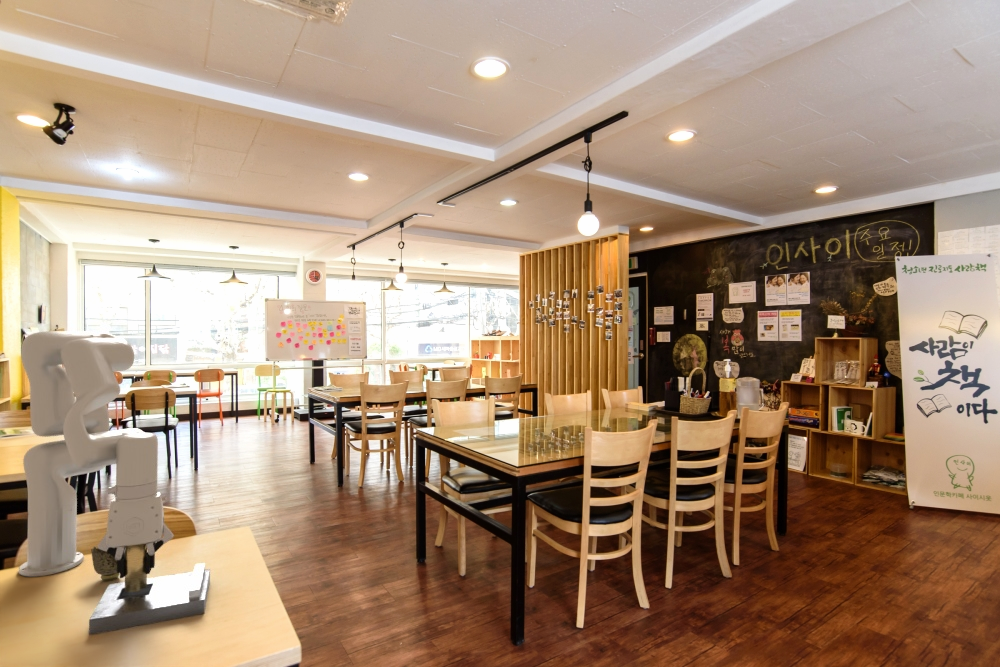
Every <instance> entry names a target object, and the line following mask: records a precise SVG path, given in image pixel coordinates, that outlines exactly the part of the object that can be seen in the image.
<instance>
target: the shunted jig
mask: <svg viewBox="0 0 1000 667" xmlns="http://www.w3.org/2000/svg"><path fill="white" fill-rule="evenodd" d="M210 582H211V568H208V569H207V568H206V562H203V563H196V564H195V565H194V569H193V571H189V572H188V571H187V572H182V573H175V574H170V575H163V576H161V575H160V576H156V577H150V578H148V577H147V587H146V588H144V589H142V590H140V591H136V592H125V581H124V582H118V583H117V582H116V583H110V584H108V586H107V588H106V589H105V591H104V593H103V595H102V597H101V598H100V600H99V601H98V604H97V606H96V607H95V609H94V611H93V612H92V614H91V615H90V617H89V619H88V635H89V636H90V635H94V634H101V633H105V632H106V633H107V632H113V631H117V630H121V629H122V630H123V629H128V628H134V627H139V626H143V625H144V626H145V625H149V624H154V623H161V622H165V621H171V620H176V619H183V618H187V617H188V618H189V617H193V616H198V615H204V614H205V611H206V606H207V600H208V595H209V588H210Z"/></svg>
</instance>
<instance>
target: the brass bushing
mask: <svg viewBox="0 0 1000 667" xmlns="http://www.w3.org/2000/svg"><path fill="white" fill-rule="evenodd" d="M147 552H148V550H147V545H146V544H140V545H133V546H125V577H124V582H125V592H136V591H140V590H142V589H144V588H146V587H147V579H148V574H145V558H146V555H147Z"/></svg>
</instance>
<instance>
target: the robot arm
mask: <svg viewBox="0 0 1000 667" xmlns="http://www.w3.org/2000/svg"><path fill="white" fill-rule="evenodd" d="M20 348H21V349H20V357H21V363H22V366H23V369H24V371H25V373H26V376H27V378H28V382H29V398H30V400H29V401H30V402H29V404H30V405H29V407H30V424H31V425H30V426H31V430H32V432H33V433H34V435H36V436H39V437H42V438H43V437H44V438H45V437H47V438H50V437H57V436H63V440H62V439H61V440H55V441H48V442H42V443H40V444H37V445H34V446H32V447H31V448H29V449H28V450H27V451H26V452H25V454H24V456H23V459H22V460H23V463H22V464H23V469H24V470H23V471H24V473H25V479H26V485H27V551H26V552H27V553H26V554H27V555H26V557H27V559H26V560H27V561H25V562H24V563H22V564H20V566H19V567H18V574H19V575H21V576H23V577H43V576H49V575H54V574H58V573H61V572H64V571H68V570H71V569H72V568H75V567H77V566H78V565H80V564H81V563H82V562H83V561H84V558H85V557H84V553H82V552H80V551H77V517H78V514H77V513H78V512H77V511H78V510H77V509H78V508H77V507H78V505H77V504H78V501H77V500H78V498H77V497H78V495H77V492H76V489H75V488H74V487H73V486H72V485H70V484H69V483H68V482H67V481H66V479H67V478H71V477H73V476H80V475H85V474H90V473H94V472H98V471H100V470H101V471H102V470H103V469H104V468H106V466H110V465H111V466H112V465H116V466H115V467H116V468H115V469H116V470H115V473H116V476H115V485H113V486H112V487H108V488H107V494H108V495H114V498H113V499H111V501H110V503H109V507H108V508H109V509H108V513H107V514H108V515H107V522H106V523H107V524H106V533H105V535H104V536H103V537H102V539H101V540H100V541H99V543H98V544H97V546H96V548H98V549H101V550H103V551H106V552H108V553H109V554H110V555H112V556H113V557H115V559H116V560H117V573H120V574H119V578H120V579H123V578H125V546H133V545H140V544H146V545H147V555H146V558H145V574H147V575H150V573H151V571H152V569H154V568H155V566H156V565H155V564H156V563H155V562H156V558H155V557H156V556H155V555H156V552H157V551H158V550H159V549H161V547H162V546H164V544H166V543H168V542H169V541H171V540H172V539H174V533H173V532H172V531H171V529H170V528H169V527H168V526H167V524H166V523H165V514H164V503H163V499H162V495H161V492H160V491H159V492H158V461H159V460H158V454H159V452H158V449H159V447H158V446H159V444H158V442H159V440H158V436H157V435H156V434H154V433H152V432H145V431H143V430H142V429H140V428H136V427H134V428H133V427H132V428H123V429H122V428H121V429H114V430H110V413H109V412H110V411H109V408H108V405H109V403H111V402H113V401H114V400H115V399H117V397H118V396H119V395H120V393H121V387H120V384H119V382H118V379H117V376H116V375H115V372H123V371H128V370H129V369H130V368H131V367H132V366H133V365H134V361H135V352H134V349H133V348H132V345H131V344H130V343H129V341H127V340H126V339H125V338H122V337H120V336H117V335H114V334H111V333H107V332H103V331H78V330H77V331H72V330H68V331H67V330H49V331H48V330H47V331H39V332H38V331H37V332H34V333H31V334H29V335H28V336H26V337H25V338H24V339H23V341H22V344H21V347H20ZM107 404H108V405H107Z"/></svg>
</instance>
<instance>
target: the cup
mask: <svg viewBox="0 0 1000 667" xmlns="http://www.w3.org/2000/svg"><path fill="white" fill-rule="evenodd" d="M90 550H91V559H92V564H93V565H92V566H93V569H94V572H96V574H97V575H99V576H100V578H101V579H100V580H102V581H103V582H110V581H113V580H116V579H117V578H119V577H120V573H117V560H116V559H115V557H113V556H112V555H110V554H109V553H108V552H106V551H103V550H101V549H98V548H97V546H93V548H91V549H90Z"/></svg>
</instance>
